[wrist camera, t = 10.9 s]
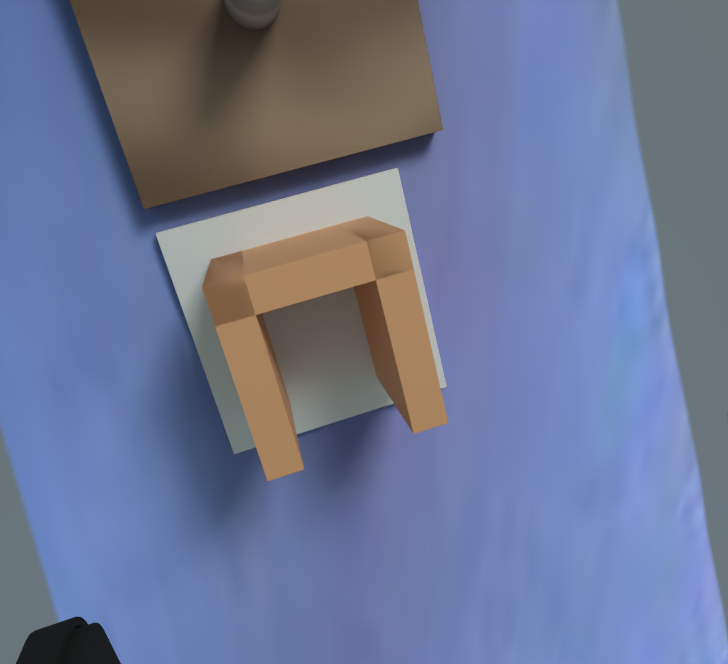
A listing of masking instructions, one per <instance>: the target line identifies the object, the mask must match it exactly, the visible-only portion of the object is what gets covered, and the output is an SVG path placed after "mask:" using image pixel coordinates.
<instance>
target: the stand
mask: <svg viewBox="0 0 728 664" xmlns="http://www.w3.org/2000/svg"><path fill="white" fill-rule="evenodd" d="M70 3H71V6H72V9H73V12H74V14H75V17H76V20H77V23H78V26H79V28H80V31H81V34H82V37H83V40H84V42H85V45H86V48H87V51H88V54H89V56H90V59H91V62H92V65H93V68H94V70H95V73H96V76H97V79H98V82H99V84H100V87H101V90H102V93H103V96H104V98H105V101H106V104H107V107H108V110H109V112H110V115H111V118H112V121H113V124H114V126H115V129H116V132H117V135H118V137H119V140H120V143H121V146H122V149H123V151H124V154H125V157H126V160H127V163H128V165H129V168H130V171H131V174H132V177H133V179H134V182H135V185H136V188H137V191H138V193H139V196H140V199H141V202H142V205H143V207H144V209H147V208H150V207H154V206H158V205H162V204H166V203H169V202H173V201H177V200H181V199H184V198H188V197H192V196H196V195H199V194H203V193H207V192H211V191H215V190H218V189H222V188H226V187H230V186H233V185H237V184H241V183H245V182H249V181H252V180H256V179H260V178H264V177H267V176H271V175H275V174H279V173H283V172H286V171H290V170H294V169H298V168H301V167H305V166H309V165H313V164H317V163H320V162H324V161H328V160H332V159H335V158H339V157H343V156H347V155H351V154H354V153H358V152H362V151H366V150H369V149H373V148H377V147H381V146H385V145H388V144H392V143H396V142H400V141H403V140H407V139H411V138H415V137H418V136H422V135H426V134H430V133H434V132H437V131H441V130H443V127H442V122H441V116H440V111H439V106H438V101H437V96H436V91H435V86H434V81H433V76H432V71H431V66H430V61H429V55H428V50H427V45H426V40H425V35H424V30H423V25H422V20H421V15H420V10H419V5H418V0H70Z"/></svg>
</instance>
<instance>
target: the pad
mask: <svg viewBox="0 0 728 664" xmlns="http://www.w3.org/2000/svg"><path fill="white" fill-rule="evenodd" d="M366 216H369V217H371V218H374V219H376V220H379V221H382V222H384V223H387V224H390V225H392V226H395V227H398V228H400V229H403V230H405V232H406V237H407V241H408V245H409V250H410V254H411V259H412V263H413V268H414V272H415V277H416V281H417V286H418V290H419V294H420V299H421V303H422V308H423V312H424V317H425V321H426V326H427V330H428V335H429V339H430V344H431V348H432V352H433V357H434V361H435V366H436V370H437V375H438V379H439V384H440V388H444V387H447V386H446V382H445V378H444V373H443V369H442V364H441V360H440V355H439V351H438V346H437V342H436V337H435V333H434V328H433V324H432V319H431V315H430V310H429V306H428V301H427V297H426V292H425V288H424V283H423V279H422V275H421V270H420V266H419V261H418V257H417V252H416V248H415V243H414V239H413V234H412V230H411V225H410V221H409V216H408V212H407V207H406V203H405V198H404V194H403V189H402V185H401V180H400V176H399V172H398V168H393V169H390V170H386V171H382V172H378V173H375V174H371V175H367V176H364V177H360V178H356V179H353V180H349V181H345V182H341V183H338V184H334V185H330V186H327V187H323V188H319V189H316V190H312V191H308V192H304V193H301V194H297V195H293V196H290V197H286V198H282V199H278V200H275V201H271V202H267V203H264V204H260V205H256V206H253V207H249V208H245V209H241V210H238V211H234V212H230V213H227V214H223V215H219V216H216V217H212V218H208V219H204V220H201V221H197V222H193V223H190V224H186V225H182V226H179V227H175V228H171V229H167V230H164V231H160V232H157V233H155V234H156V236H157V239H158V242H159V245H160V248H161V250H162V253H163V256H164V259H165V262H166V264H167V267H168V270H169V273H170V276H171V278H172V281H173V284H174V287H175V290H176V293H177V295H178V298H179V301H180V304H181V307H182V309H183V312H184V315H185V318H186V321H187V323H188V326H189V329H190V332H191V335H192V337H193V340H194V343H195V346H196V349H197V352H198V354H199V357H200V360H201V363H202V366H203V368H204V371H205V374H206V377H207V380H208V382H209V385H210V388H211V391H212V394H213V396H214V399H215V402H216V405H217V408H218V411H219V413H220V416H221V419H222V422H223V425H224V427H225V430H226V433H227V436H228V439H229V441H230V444H231V447H232V450H233V453H234V454H237V453H240V452H243V451H246V450H249V449H252V448H256V446H255V443H254V440H253V437H252V434H251V431H250V428H249V425H248V422H247V419H246V416H245V413H244V410H243V407H242V404H241V401H240V398H239V395H238V392H237V389H236V387H235V384H234V381H233V378H232V375H231V372H230V369H229V366H228V363H227V360H226V357H225V354H224V351H223V348H222V345H221V342H220V339H219V336H218V333H217V330H216V328H215V325H214V322H213V319H212V316H211V313H210V310H209V307H208V304H207V301H206V298H205V295H204V292H203V289H202V286H203V283H204V279H205V276H206V273H207V270H208V267H209V264H210V260H211V259H214V258H217V257H221V256H224V255H228V254H232V253H235V252H239V251H243V250H246V249H250V248H253V247H257V246H261V245H264V244H268V243H272V242H275V241H279V240H282V239H286V238H290V237H293V236H297V235H301V234H304V233H308V232H311V231H315V230H319V229H322V228H326V227H330V226H333V225H337V224H341V223H344V222H348V221H351V220H355V219H359V218H362V217H366ZM262 315H263V318H264V321H265V324H266V328H267V331H268V334H269V337H270V340H271V344H272V347H273V350H274V353H275V357H276V360H277V363H278V366H279V369H280V373H281V376H282V379H283V382H284V385H285V389H286V392H287V395H288V398H289V402H290V405H291V410H292V414H293V419H294V424H295V428H296V433H297V434H299V433H303V432H306V431H309V430H312V429H315V428H318V427H321V426H325V425H328V424H331V423H334V422H337V421H340V420H343V419H347V418H350V417H353V416H356V415H359V414H362V413H365V412H368V411H372V410H375V409H378V408H381V407H384V406H387V405H390V404H394V403H393V401H392V400H391V398H390V397H389V395H388V394H387V392H386V391H385V389H384V388H383V386H382V385H381V383H380V381H379V380H378V378H377V376H376V372H375V368H374V364H373V360H372V356H371V353H370V349H369V345H368V341H367V337H366V333H365V329H364V325H363V322H362V318H361V314H360V310H359V306H358V302H357V298H356V295H355V291H354V287H351V288H347V289H344V290H340V291H337V292H333V293H330V294H327V295H323V296H320V297H316V298H313V299H309V300H306V301H302V302H299V303H295V304H292V305H289V306H285V307H282V308H278V309H275V310H271V311H268V312H264V313H262Z"/></svg>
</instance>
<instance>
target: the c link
mask: <svg viewBox="0 0 728 664" xmlns="http://www.w3.org/2000/svg"><path fill="white" fill-rule="evenodd" d="M351 287H354V291H355V295H356V298H357V302H358V306H359V310H360V314H361V318H362V322H363V325H364V329H365V333H366V337H367V341H368V345H369V349H370V353H371V356H372V360H373V364H374V368H375V372H376V376H377V378H378V380H379V381H380V383H381V385H382V386H383V388H384V389H385V391H386V392H387V394H388V395H389V397H390V398H391V400H392V401H393V403H394V404H395V406H396V408H397V409H398V411H399V412H400V414H401V415H402V417H403V418H404V420H405V421H406V423H407V424H408V426H409V427H410V429H411V431H412V432H413V434H415V433H418V432H421V431H424V430H427V429H430V428H434V427H437V426H440V425H443V424H446V423H448V419H447V415H446V410H445V406H444V402H443V397H442V393H441V388H440V384H439V379H438V375H437V370H436V366H435V361H434V357H433V352H432V348H431V344H430V339H429V335H428V330H427V326H426V321H425V317H424V312H423V308H422V303H421V299H420V294H419V290H418V286H417V281H416V277H415V272H414V268H413V263H412V259H411V254H410V250H409V245H408V241H407V237H406V232H405V230H403V229H400V228H398V227H395V226H392V225H390V224H387V223H384V222H382V221H379V220H376V219H374V218H371V217H369V216H366V217H362V218H359V219H355V220H351V221H348V222H344V223H341V224H337V225H333V226H330V227H326V228H322V229H319V230H315V231H311V232H308V233H304V234H301V235H297V236H293V237H290V238H286V239H282V240H279V241H275V242H272V243H268V244H264V245H261V246H257V247H253V248H250V249H246V250H243V251H239V252H235V253H232V254H228V255H224V256H221V257H217V258H214V259H211V260H210V264H209V267H208V270H207V273H206V276H205V279H204V283H203V286H202V289H203V292H204V295H205V298H206V301H207V304H208V307H209V310H210V313H211V316H212V319H213V322H214V325H215V328H216V330H217V333H218V336H219V339H220V342H221V345H222V348H223V351H224V354H225V357H226V360H227V363H228V366H229V369H230V372H231V375H232V378H233V381H234V384H235V387H236V389H237V392H238V395H239V398H240V401H241V404H242V407H243V410H244V413H245V416H246V419H247V422H248V425H249V428H250V431H251V434H252V437H253V440H254V443H255V446H256V449H257V451H258V454H259V457H260V460H261V463H262V466H263V469H264V472H265V475H266V478H267V481H270V480H273V479H276V478H279V477H282V476H285V475H288V474H292V473H295V472H298V471H301V470H304V466H303V461H302V456H301V452H300V447H299V442H298V438H297V433H296V428H295V424H294V419H293V414H292V410H291V405H290V402H289V398H288V395H287V392H286V389H285V385H284V382H283V379H282V376H281V373H280V369H279V366H278V363H277V360H276V357H275V353H274V350H273V347H272V344H271V340H270V337H269V334H268V331H267V328H266V324H265V321H264V318H263V315H262V313H264V312H268V311H271V310H275V309H278V308H282V307H285V306H289V305H292V304H295V303H299V302H302V301H306V300H309V299H313V298H316V297H320V296H323V295H327V294H330V293H333V292H337V291H340V290H344V289H347V288H351Z"/></svg>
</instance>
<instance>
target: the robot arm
mask: <svg viewBox="0 0 728 664" xmlns="http://www.w3.org/2000/svg"><path fill="white" fill-rule="evenodd" d="M16 664H121V663H120V661H119V659H118V657H117V655H116V653H115V651H114V649H113V647H112V645H111V643H110V641H109V639H108V637H107V635H106V633H105V631H104V629H103V628H102V626H101V625H100V624H99V623H92V624H89V625H88V624H87V622H86V621H85V620H84V619H83V618H82V617H74V618H71V619H68V620H65V621H62V622H59V623H56V624H53V625H51V626H47V627H45V628H42V629H38V630H35V631H34V632H33V633H31V634H30V635H29V637H28V638H27V640H26V642H25V644H24V646H23V649H22V651H21V653H20V656H19V658H18V660H17V662H16Z"/></svg>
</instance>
